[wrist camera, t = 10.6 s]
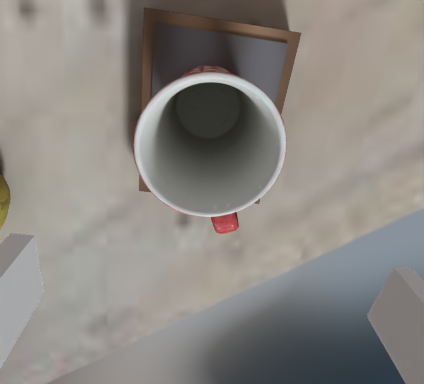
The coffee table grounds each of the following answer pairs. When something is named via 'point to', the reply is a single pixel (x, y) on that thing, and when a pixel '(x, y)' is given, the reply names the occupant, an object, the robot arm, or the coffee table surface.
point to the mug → (210, 145)
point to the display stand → (214, 53)
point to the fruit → (4, 200)
